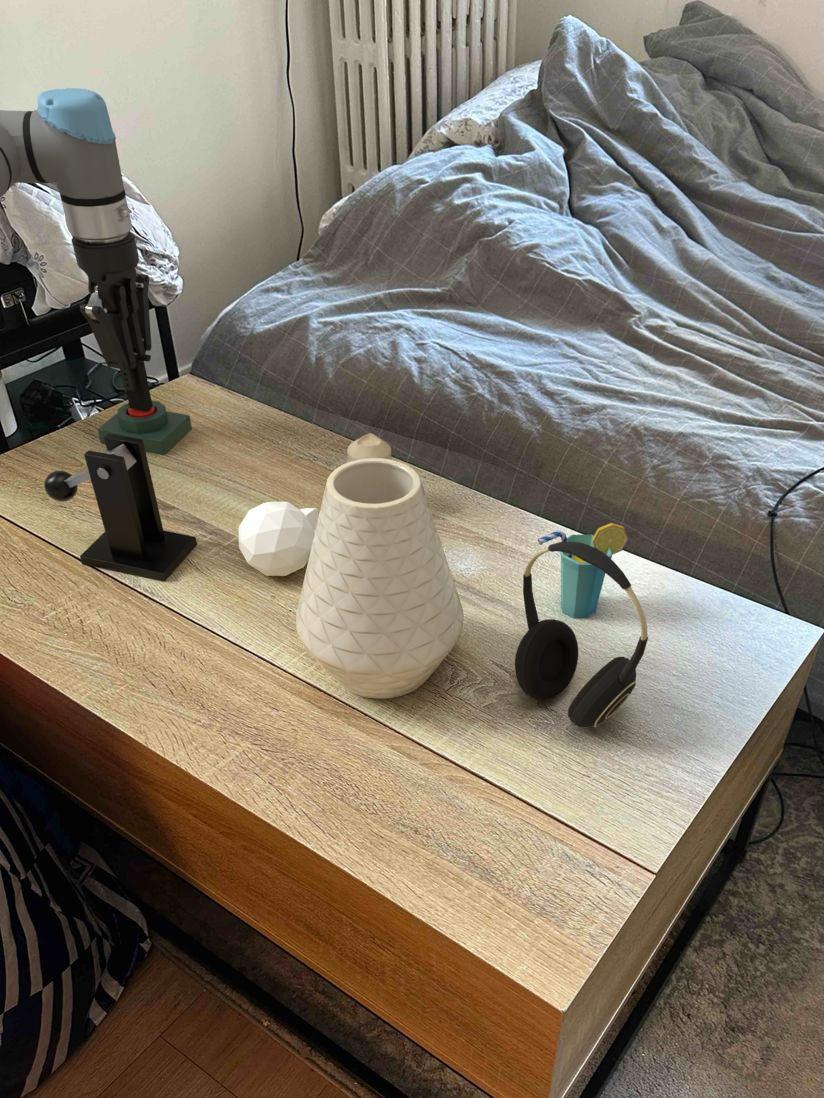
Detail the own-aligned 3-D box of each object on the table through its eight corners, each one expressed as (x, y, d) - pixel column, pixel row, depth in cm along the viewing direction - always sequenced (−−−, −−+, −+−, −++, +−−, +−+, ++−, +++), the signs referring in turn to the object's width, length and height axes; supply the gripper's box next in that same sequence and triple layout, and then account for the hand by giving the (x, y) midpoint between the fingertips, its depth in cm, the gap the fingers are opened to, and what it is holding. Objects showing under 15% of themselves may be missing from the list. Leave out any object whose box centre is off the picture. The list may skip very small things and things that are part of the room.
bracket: (81, 564, 116) (48, 455, 106) (117, 528, 122) (89, 422, 112) (165, 581, 115) (139, 472, 105) (197, 544, 120) (176, 438, 110)
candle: (356, 493, 131) (351, 426, 124) (396, 497, 130) (394, 430, 124) (347, 516, 127) (342, 448, 120) (388, 520, 126) (386, 452, 120)
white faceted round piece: (295, 590, 111) (349, 548, 121) (271, 516, 107) (329, 478, 116) (237, 590, 115) (293, 549, 124) (212, 518, 111) (272, 481, 120)
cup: (544, 637, 110) (553, 551, 102) (519, 606, 114) (525, 521, 106) (626, 611, 114) (641, 527, 106) (599, 582, 118) (611, 498, 110)
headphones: (602, 762, 96) (630, 605, 83) (491, 692, 103) (499, 536, 90) (650, 718, 101) (684, 563, 88) (541, 653, 108) (556, 500, 95)
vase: (430, 738, 98) (429, 552, 82) (273, 698, 101) (244, 511, 85) (482, 633, 110) (490, 454, 95) (341, 600, 113) (327, 422, 98)
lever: (52, 510, 115) (31, 485, 113) (70, 495, 117) (50, 470, 116) (127, 478, 109) (106, 451, 107) (143, 462, 111) (123, 435, 109)
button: (125, 423, 137) (122, 412, 136) (138, 412, 139) (136, 401, 138) (148, 428, 136) (146, 416, 135) (161, 416, 139) (159, 405, 138)
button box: (100, 443, 137) (94, 417, 135) (130, 417, 143) (124, 392, 140) (164, 455, 136) (159, 429, 133) (192, 428, 141) (187, 403, 139)
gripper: (100, 255, 115) (141, 433, 131) (156, 221, 125) (188, 391, 140) (44, 246, 116) (91, 424, 132) (103, 213, 126) (141, 383, 142)
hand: (141, 407), depth 136 cm, fingers closed
